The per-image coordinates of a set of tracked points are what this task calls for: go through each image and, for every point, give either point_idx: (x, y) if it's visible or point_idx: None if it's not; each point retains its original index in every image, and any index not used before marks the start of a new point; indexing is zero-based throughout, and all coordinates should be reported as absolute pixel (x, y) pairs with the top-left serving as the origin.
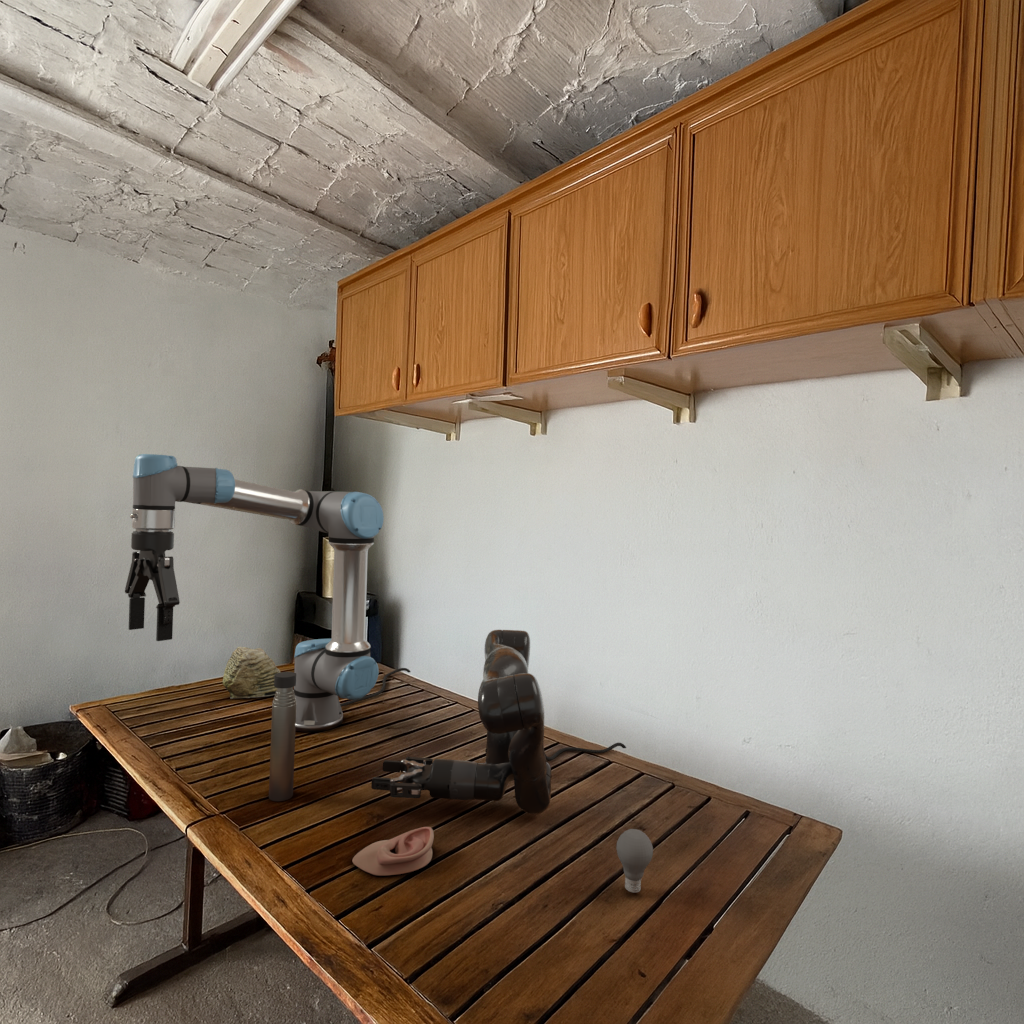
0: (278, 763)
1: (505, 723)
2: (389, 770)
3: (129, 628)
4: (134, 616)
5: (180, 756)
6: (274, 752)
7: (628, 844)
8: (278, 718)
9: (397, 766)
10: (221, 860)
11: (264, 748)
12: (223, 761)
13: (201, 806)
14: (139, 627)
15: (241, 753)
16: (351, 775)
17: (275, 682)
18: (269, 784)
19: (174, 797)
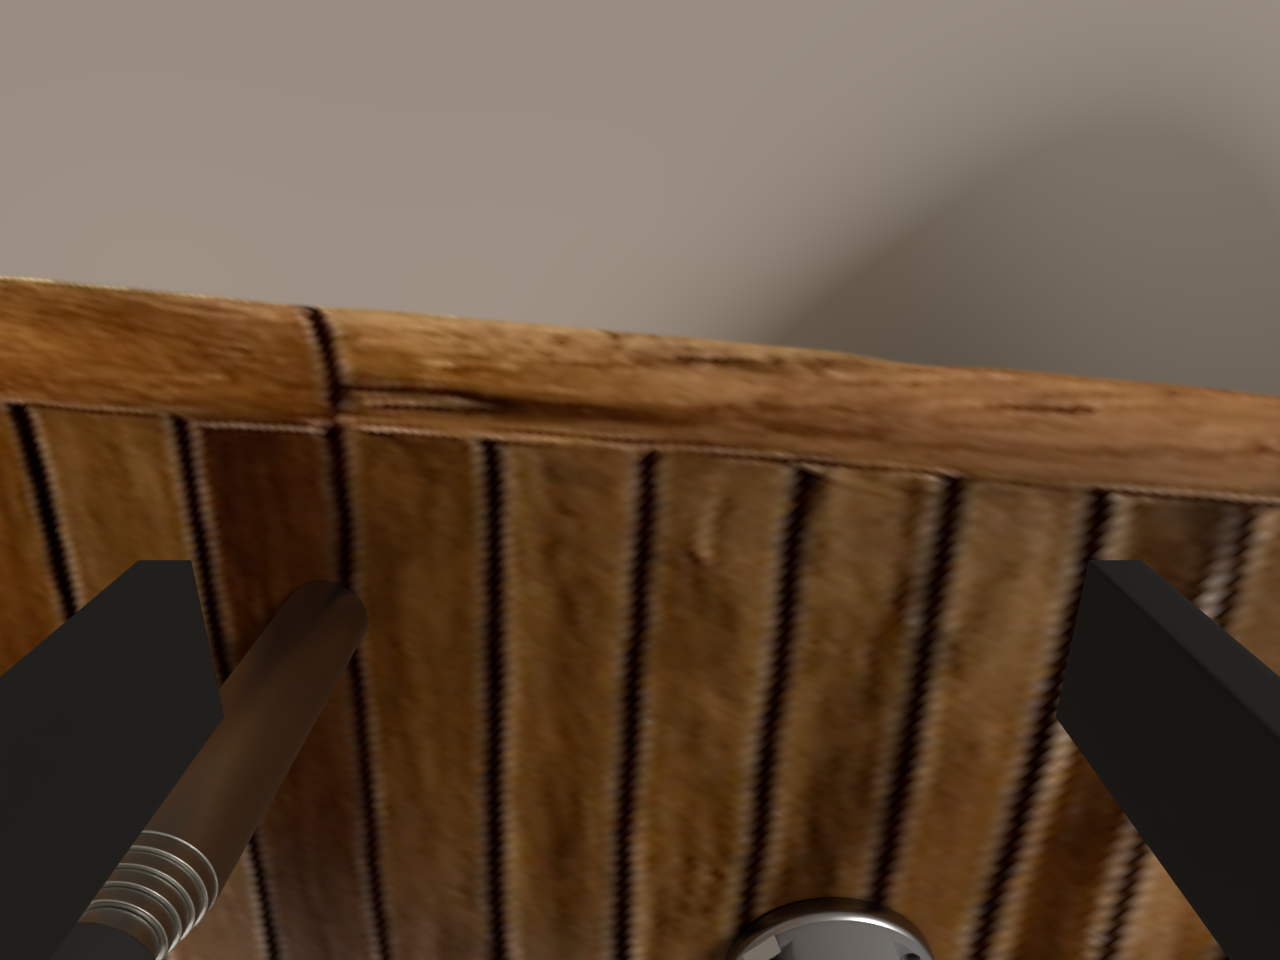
0: (238, 666)
1: None
2: None
3: (1117, 569)
4: (1189, 726)
5: (918, 533)
6: (234, 683)
7: None
8: None
9: None
10: (8, 282)
11: (744, 762)
12: (745, 618)
13: (430, 402)
14: (1077, 680)
15: (764, 691)
16: (325, 830)
17: (68, 947)
18: (317, 608)
19: (569, 366)
